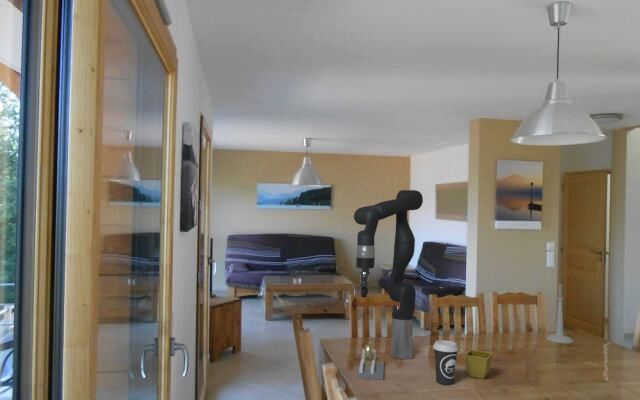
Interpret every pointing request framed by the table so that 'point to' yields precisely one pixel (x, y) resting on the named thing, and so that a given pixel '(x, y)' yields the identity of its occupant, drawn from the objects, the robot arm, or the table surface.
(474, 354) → the flower pot
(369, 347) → the brass bolt
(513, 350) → the table surface
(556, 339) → the candlestick
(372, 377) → the door and jamb plate
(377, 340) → the table surface
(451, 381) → the coffee cup
